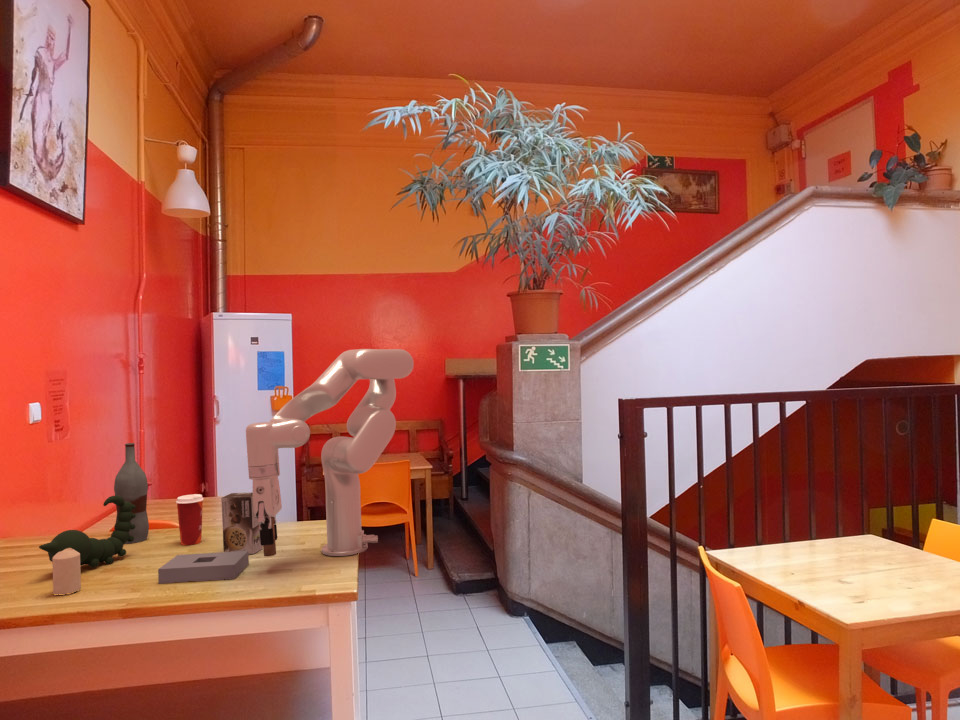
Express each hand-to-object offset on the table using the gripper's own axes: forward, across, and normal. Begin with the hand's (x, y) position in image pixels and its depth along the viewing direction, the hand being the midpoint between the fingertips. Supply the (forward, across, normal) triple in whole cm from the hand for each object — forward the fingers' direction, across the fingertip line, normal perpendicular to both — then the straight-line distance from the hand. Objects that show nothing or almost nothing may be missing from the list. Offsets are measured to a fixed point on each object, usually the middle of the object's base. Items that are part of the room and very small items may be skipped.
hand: (269, 541), depth 163 cm
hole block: (+6, -1, +16) cm, 17 cm away
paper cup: (+7, +31, +31) cm, 45 cm away
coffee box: (+7, +18, +12) cm, 23 cm away
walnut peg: (+3, 0, 0) cm, 3 cm away
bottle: (+6, +38, +51) cm, 64 cm away
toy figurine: (+6, +11, +50) cm, 52 cm away
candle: (+5, -9, +45) cm, 46 cm away
